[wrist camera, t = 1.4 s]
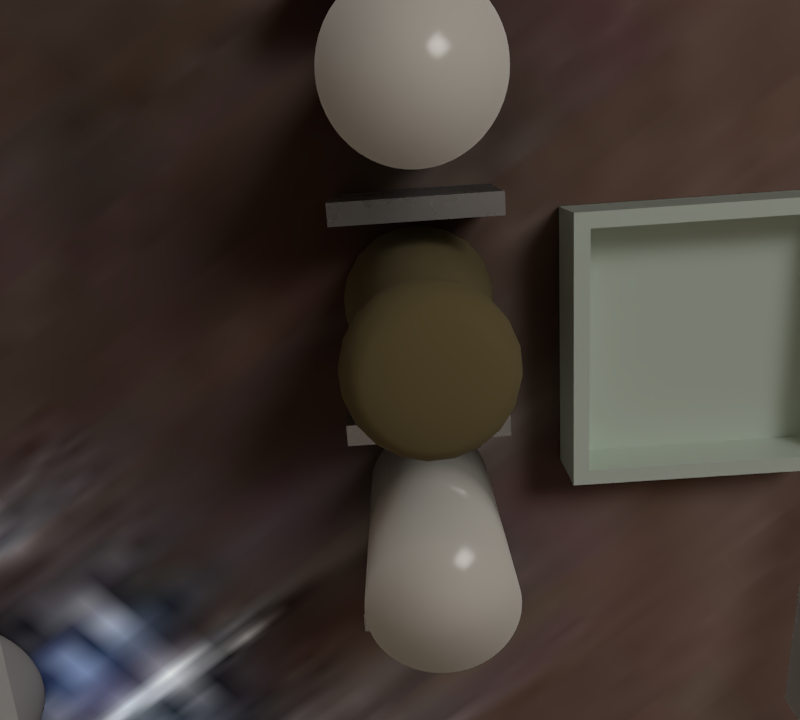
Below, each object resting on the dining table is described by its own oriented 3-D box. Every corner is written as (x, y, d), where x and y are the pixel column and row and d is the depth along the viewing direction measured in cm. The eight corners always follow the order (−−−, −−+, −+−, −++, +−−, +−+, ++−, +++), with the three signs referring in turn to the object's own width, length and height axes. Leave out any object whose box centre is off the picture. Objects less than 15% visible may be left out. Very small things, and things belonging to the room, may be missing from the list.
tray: (558, 206, 29) (573, 212, 27) (835, 187, 29) (875, 192, 26) (560, 459, 32) (573, 485, 30) (809, 442, 32) (843, 467, 30)
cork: (516, 255, 29) (586, 321, 19) (461, 391, 31) (497, 522, 21) (372, 202, 29) (360, 241, 18) (323, 344, 30) (287, 454, 20)
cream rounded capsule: (367, 431, 32) (358, 542, 23) (485, 423, 32) (520, 532, 23) (376, 536, 33) (370, 677, 24) (489, 528, 33) (523, 667, 24)
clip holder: (313, -36, 26) (300, -66, 23) (482, -49, 26) (497, -80, 23) (368, 574, 34) (365, 631, 30) (501, 566, 33) (515, 621, 30)
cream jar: (332, 21, 27) (304, -33, 18) (470, 11, 27) (507, -47, 18) (344, 163, 28) (324, 175, 20) (475, 154, 28) (512, 162, 20)
